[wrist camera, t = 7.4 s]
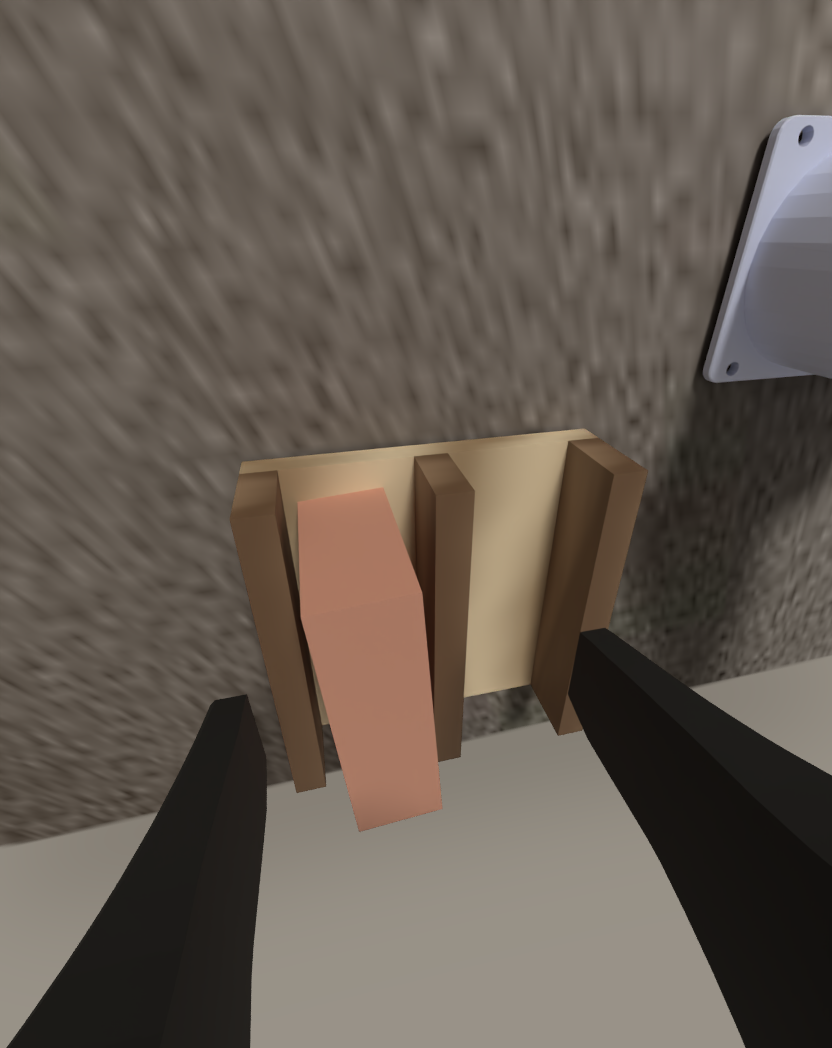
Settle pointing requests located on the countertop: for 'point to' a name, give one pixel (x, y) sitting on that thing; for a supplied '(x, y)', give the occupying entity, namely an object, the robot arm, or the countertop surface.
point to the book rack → (452, 566)
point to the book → (370, 654)
